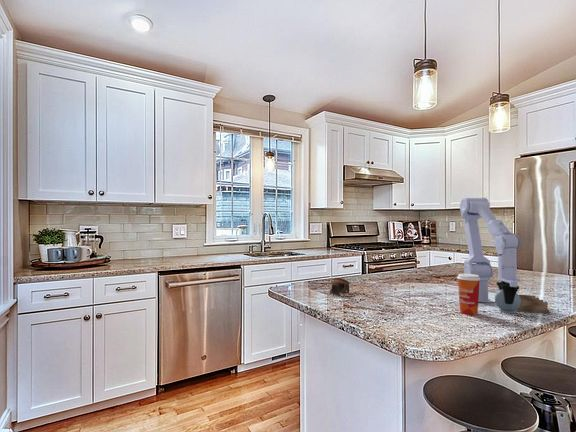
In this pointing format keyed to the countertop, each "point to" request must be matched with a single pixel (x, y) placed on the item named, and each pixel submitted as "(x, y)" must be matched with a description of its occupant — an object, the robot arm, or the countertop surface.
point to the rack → (532, 304)
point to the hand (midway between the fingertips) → (507, 302)
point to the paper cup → (468, 293)
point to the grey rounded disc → (507, 307)
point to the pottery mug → (339, 286)
